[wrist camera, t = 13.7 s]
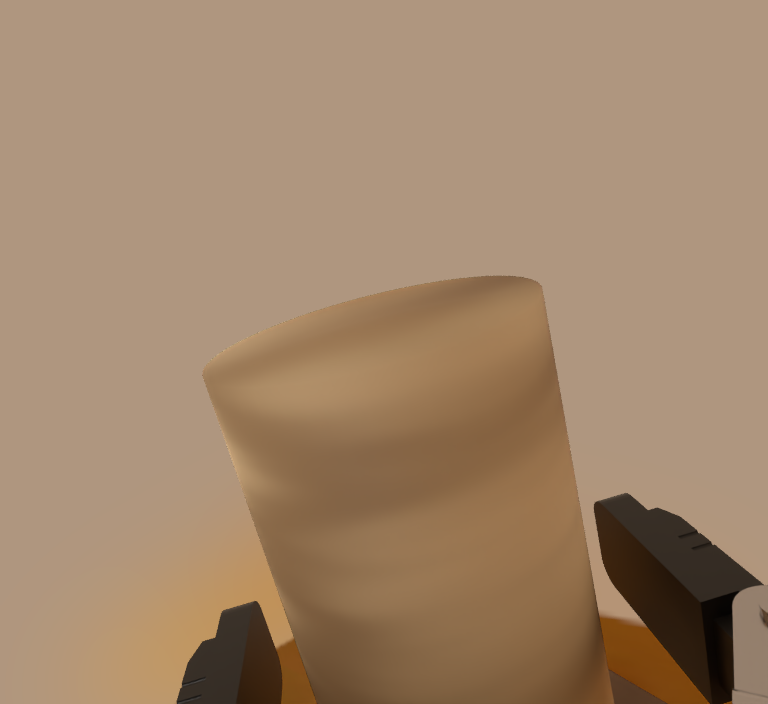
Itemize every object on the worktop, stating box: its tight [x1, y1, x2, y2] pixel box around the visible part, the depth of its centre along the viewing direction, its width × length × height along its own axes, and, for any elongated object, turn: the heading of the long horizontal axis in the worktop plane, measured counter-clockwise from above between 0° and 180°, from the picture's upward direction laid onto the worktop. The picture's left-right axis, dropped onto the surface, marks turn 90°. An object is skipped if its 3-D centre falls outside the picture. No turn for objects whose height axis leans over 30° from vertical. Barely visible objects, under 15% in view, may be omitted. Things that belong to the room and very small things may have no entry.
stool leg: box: [202, 276, 614, 704], centre depth 12 cm, size 6×6×17 cm
